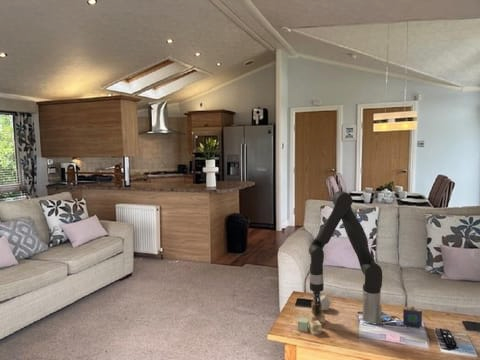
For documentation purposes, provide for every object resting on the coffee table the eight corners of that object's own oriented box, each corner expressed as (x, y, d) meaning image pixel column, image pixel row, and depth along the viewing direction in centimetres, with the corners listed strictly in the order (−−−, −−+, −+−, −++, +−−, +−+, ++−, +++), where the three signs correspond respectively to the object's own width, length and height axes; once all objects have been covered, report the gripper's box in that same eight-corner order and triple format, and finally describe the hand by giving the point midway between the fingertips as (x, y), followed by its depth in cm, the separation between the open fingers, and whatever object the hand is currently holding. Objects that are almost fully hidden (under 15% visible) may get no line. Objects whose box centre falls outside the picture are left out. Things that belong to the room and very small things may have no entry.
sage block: (308, 327, 196) (308, 318, 196) (307, 331, 191) (307, 322, 191) (299, 326, 198) (299, 317, 197) (297, 330, 193) (297, 321, 192)
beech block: (318, 329, 194) (317, 320, 193) (321, 334, 189) (321, 324, 188) (309, 330, 193) (308, 321, 192) (312, 335, 188) (312, 325, 188)
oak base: (321, 319, 205) (321, 310, 205) (324, 325, 198) (324, 316, 198) (309, 319, 205) (309, 311, 204) (312, 325, 198) (312, 316, 197)
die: (327, 315, 211) (334, 299, 213) (313, 307, 212) (321, 291, 214) (324, 314, 219) (331, 298, 221) (310, 306, 220) (318, 291, 222)
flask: (421, 325, 195) (421, 306, 194) (422, 328, 192) (422, 308, 191) (402, 323, 197) (402, 304, 196) (403, 326, 194) (403, 306, 193)
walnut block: (320, 309, 203) (320, 301, 203) (321, 314, 198) (321, 305, 198) (311, 309, 204) (311, 301, 203) (312, 313, 199) (312, 305, 198)
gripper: (325, 286, 192) (325, 317, 193) (321, 276, 206) (322, 305, 208) (310, 286, 193) (311, 317, 194) (308, 276, 207) (308, 305, 208)
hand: (316, 310), depth 201 cm, fingers closed on walnut block, 5 cm apart
